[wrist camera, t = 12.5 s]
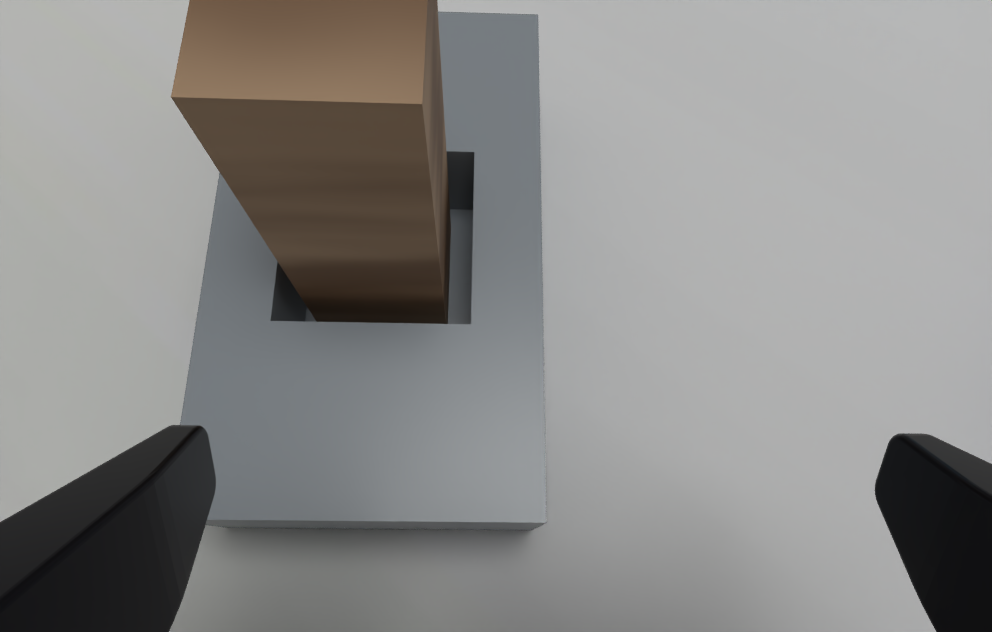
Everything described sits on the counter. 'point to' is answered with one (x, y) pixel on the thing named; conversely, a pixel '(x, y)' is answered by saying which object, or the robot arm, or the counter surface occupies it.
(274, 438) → the grey socket block
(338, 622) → the counter surface
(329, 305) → the walnut peg
